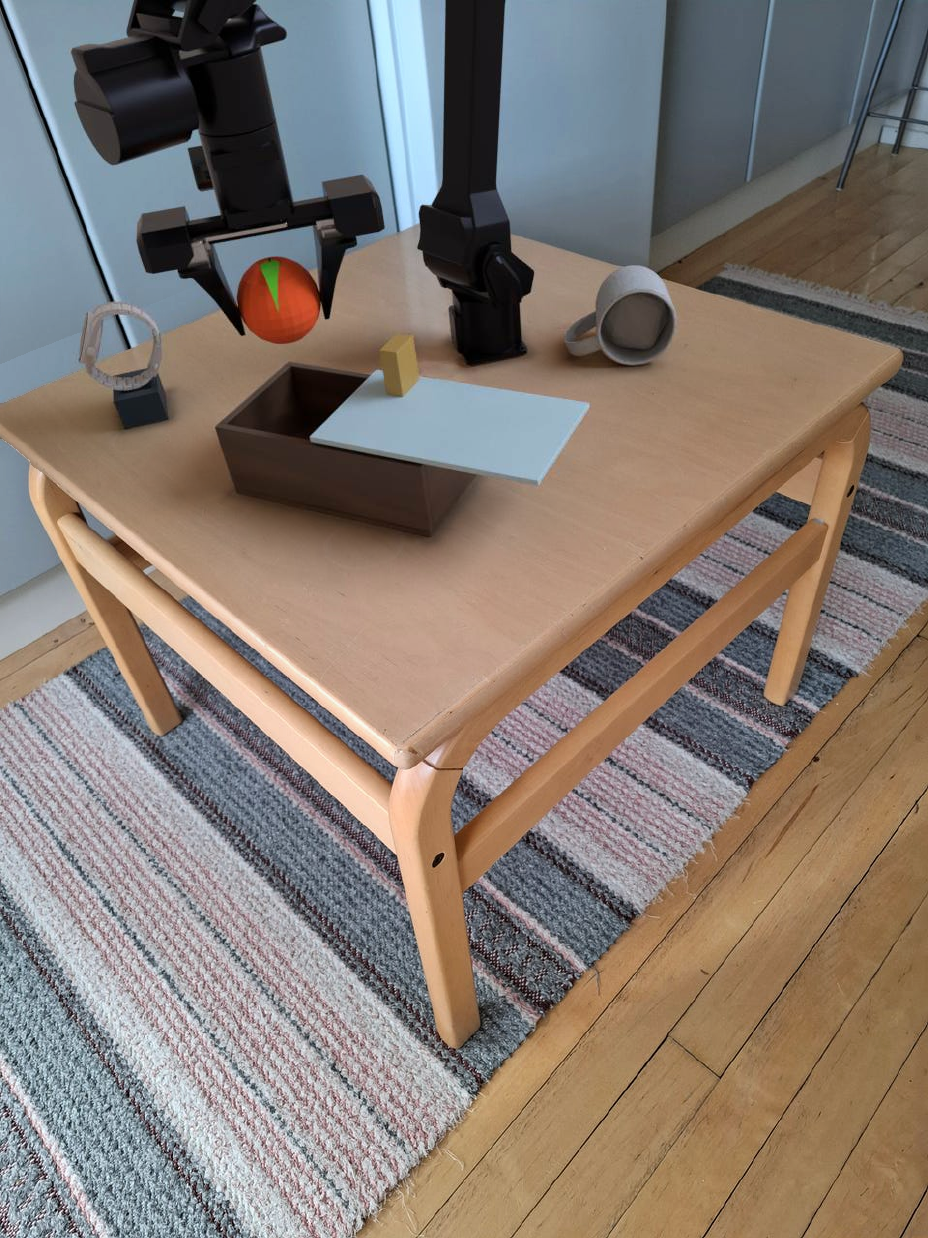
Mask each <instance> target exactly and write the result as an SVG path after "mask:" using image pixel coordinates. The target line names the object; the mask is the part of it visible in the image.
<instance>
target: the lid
mask: <svg viewBox="0 0 928 1238" xmlns="http://www.w3.org/2000/svg"><path fill="white" fill-rule="evenodd" d="M379 357H380V364H381V369H382V370H381V369H376V370H374V371H373V372H372V373H371V374H370V375H371V376H370V377H369V378H368V379H367V380H366V381H365V382H364V383H363V384H362V385H361V386H360V387H359V388H358V389H357V390H356V391H355V392H354V393H353V394H352V395H351V396H350V397H349V398H348V399H347V400H346V401H345V402H344V403H343V404H342V405H341V406H340V407H339V408H338V409H337V410H336V411H335V412H334V413H333V414H332V415H331V416H330V417H329V418H328V419H327V420H326V421H325V422H324V423H323V424H322V425H321V426H320V427H319V428H318V429H317V430H316V431H315V432H314V433H313V434H312V435H311V436H310V440H311V442H314V443H319V444H324V445H329V446H334V447H339V448H345V449H350V450H355V451H360V452H365V453H370V454H375V455H380V456H386V457H391V458H396V459H401V460H406V461H411V462H416V463H421V464H427V465H432V466H437V467H442V468H447V469H452V470H457V471H462V472H468V473H473V474H477V476H478V475H479V476H483V477H489V478H494V479H499V480H505V481H509V482H515V483H520V484H524V485H530V486H533V487H534V486H535V487H539V486H540V484H541V482H542V481H543V480H544V478H545V476H546V475H547V474H548V471H549V470H550V469H551V468H552V466H553V465H554V463H555V461H556V460H557V458H558V457H559V455H560V454H561V452H562V450H563V449H564V447H565V446H566V445H567V443H568V442H569V440H570V438H571V436H572V435H573V434H574V432H575V430H576V429H577V427H578V426H579V424H580V423H581V421H582V420H583V418H584V417H585V415H586V414H587V412H588V411H589V409H590V403H589V402H587V401H580V400H574V399H567V398H560V397H556V396H555V397H554V396H548V395H542V394H535V393H530V392H524V391H523V392H522V391H516V390H509V389H503V388H496V387H491V386H485V385H478V384H471V383H466V382H458V381H451V380H446V379H440V378H439V379H438V378H433V377H425V376H421V375H419V370H418V369H419V367H418V360H417V353H416V346H415V339H414V335H412V334H404V333H395V334H394V335H393V336H392V337H391V338H390V339H388V340H387V342H386V343H385V344H384V345H383V346H382V347H381V348H380V349H379Z"/></svg>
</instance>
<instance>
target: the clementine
mask: <svg viewBox="0 0 928 1238" xmlns="http://www.w3.org/2000/svg"><path fill="white" fill-rule="evenodd" d="M236 304H237V306H238V309H239V312H240V314H241V318H242V321H243V324H244V325H245V326H246V327H247V328H248V329H249V331H250V332H251V333H252V334H254V336H256V337H258V338H259V339H261V340H262V341H265V342H268V343H271V344H276V345H288V344H292V343H295V342H298V341H300V340H302V339H303V338H305V337H306V336H307V335H308V334H309V333H310V332H312V330H313V329H314V327H315V326H316V323H317V322H318V320H319V317H320V312H321V308H322V306H321V301H320V292H319V286H318V284H317V282H316V280H315V278H314V277H313V276H312V274H311V273H310V271H309V270H308V269H306V268H305V267H304V266H303V265H302V264H300V263H299V262H297V261H296V260H293V259H290V258H289V257H288V258H287V257H284V256H280V255H279V256H277V255H276V256H275V255H274V256H268V257H267V256H266V257H264V258H261V259H259V260H256V261H255V262H254V263H252V264H251V265H250V266H249V267H248V268H247V269H246V270H245V271H244V273H243V274H242V276H241V279H240V280H239V282H238V285H237V293H236Z"/></svg>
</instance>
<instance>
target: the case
mask: <svg viewBox="0 0 928 1238" xmlns="http://www.w3.org/2000/svg"><path fill="white" fill-rule="evenodd" d="M371 375H372V374H370V373H363V372H356V371H349V370H345V369H338V368H332V367H325V366H319V365H313V364H306V363H300V362H295V361H287V362H286V363H285V364H284V365H283V366H282V367H281V368H280V369H279V370H277V371H276V372H275V373H274V374H273V375H271V376H270V377H269V378H268V379H267V380H266V381H265V382H264V383H263V384H261V385H259V387H258V388H257V389H255V391H253V392H252V393H251V394H250V395H249V396H248V397H246V399H244V400H243V401H242V402H241V403H240V404H239V405H238V406H236V407H235V408H234V409H233V410H232V411H231V412H229V413H228V414H227V415H226V416H225V417H224V418H223V419H222V420H221V421H219V423H217V424H215V426H214V429H215V433H216V435H217V438H218V442H219V445H220V449H221V451H222V454H223V456H224V457H223V458H224V460H225V463H226V466H227V469H228V472H229V476H230V478H231V481H232V484H233V487H234V491H235V493H236V494H239V495H244V496H247V497H251V498H252V497H253V498H257V499H261V500H266V501H269V502H275V503H279V504H284V505H289V506H292V507H296V508H301V509H305V510H310V511H314V512H318V513H321V514H322V513H323V514H326V515H331V516H335V517H340V518H345V519H350V520H353V521H358V522H361V523H362V522H363V523H368V524H372V525H375V526H379V527H385V528H389V529H392V530H398V531H402V532H406V533H411V534H415V535H420V536H424V537H428V538H431V537H433V535H434V533H435V532H436V531H437V529H438V528H439V527H440V526H441V524H442V523H443V522H444V520H445V519H446V517H447V516H448V515H449V514H450V512H451V511H452V509H453V508H454V506H455V505H456V504H457V503H458V501H459V500H460V499H461V497H462V496H463V494H464V493H465V491H466V490H467V489H468V488H469V486H470V485H471V484H472V482H473V481H474V480H475V478H476V476H478V474H473V473H468V472H462V471H457V470H452V469H447V468H442V467H437V466H432V465H427V464H421V463H416V462H411V461H406V460H401V459H396V458H391V457H386V456H380V455H375V454H370V453H365V452H360V451H355V450H350V449H345V448H339V447H334V446H329V445H324V444H319V443H314V442H311V440H310V436H311V435H312V434H313V433H314V432H315V431H316V430H317V429H318V428H319V427H320V426H321V425H322V424H323V423H324V422H325V421H326V420H327V419H328V418H329V417H330V416H331V415H332V414H333V413H334V412H335V411H336V410H337V409H338V408H339V407H340V406H341V405H342V404H343V403H344V402H345V401H346V400H347V399H348V398H349V397H350V396H351V395H352V394H353V393H354V392H355V391H356V390H357V389H358V388H359V387H360V386H361V385H362V384H363V383H364V382H365V381H366V380H367V379H368V378H369V377H370V376H371Z"/></svg>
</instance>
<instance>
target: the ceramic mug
mask: <svg viewBox="0 0 928 1238" xmlns="http://www.w3.org/2000/svg"><path fill="white" fill-rule="evenodd" d="M677 319H678V318H677V312H676V309H675V307H674V304H673V302H672V299H671V296H670V293H669V291H668V289H667V286H666V284H665V282H664V281H663V279H662V278H661V276H659V275H658V274H657V273H656V272H655V271H654V270H652V269H650V268H648V267H646V266H644V265H637V264H631V265H625V266H622V267H620V268H619V267H618V268H617V269H615V270H614V271H613V272H611V273H610V274H609V275H608V276H606V278H605V279H604V280H603V282H602V283H601V285H600V287H599V289H598V291H597V295H596V297H595V310H594V311H593V312H590V313H589V314H587V315H585V316H583V317H581V318H580V319H578V320H577V321H575V322H574V323H573V324H572V325H571V326H570V327H569V328H568V330H566V332H565V334H564V337H563V342H564V345H565V347H566V349H567V351H568V352H569V354H570V355H572V356H575V357H582V356H583V357H584V356H586V355H590V354H593V353H596V352H597V351H600V350H601V351H602V353H603V354H604V355H605V356H606V357H608V358H609V360H612V361H614V362H615V363H617V364H621V365H625V366H641V365H645V364H648V363H651V362H652V361H654V360H656V359H658V358H659V357H661V356H662V355H663V354H664V353H665V352H666V351H667V349H668V348H669V347H670V346H671V344H672V342H673V340H674V338H675V335H676V332H677V325H678V324H677V323H678V321H677ZM594 328H595V332H596V333H595V334H593V335H591V336H590V337H587V338H584V339H581V340H578V339H579V338H580V337H581V336H582V335H584V334H586V333H588V331H591V330H592V329H594Z"/></svg>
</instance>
